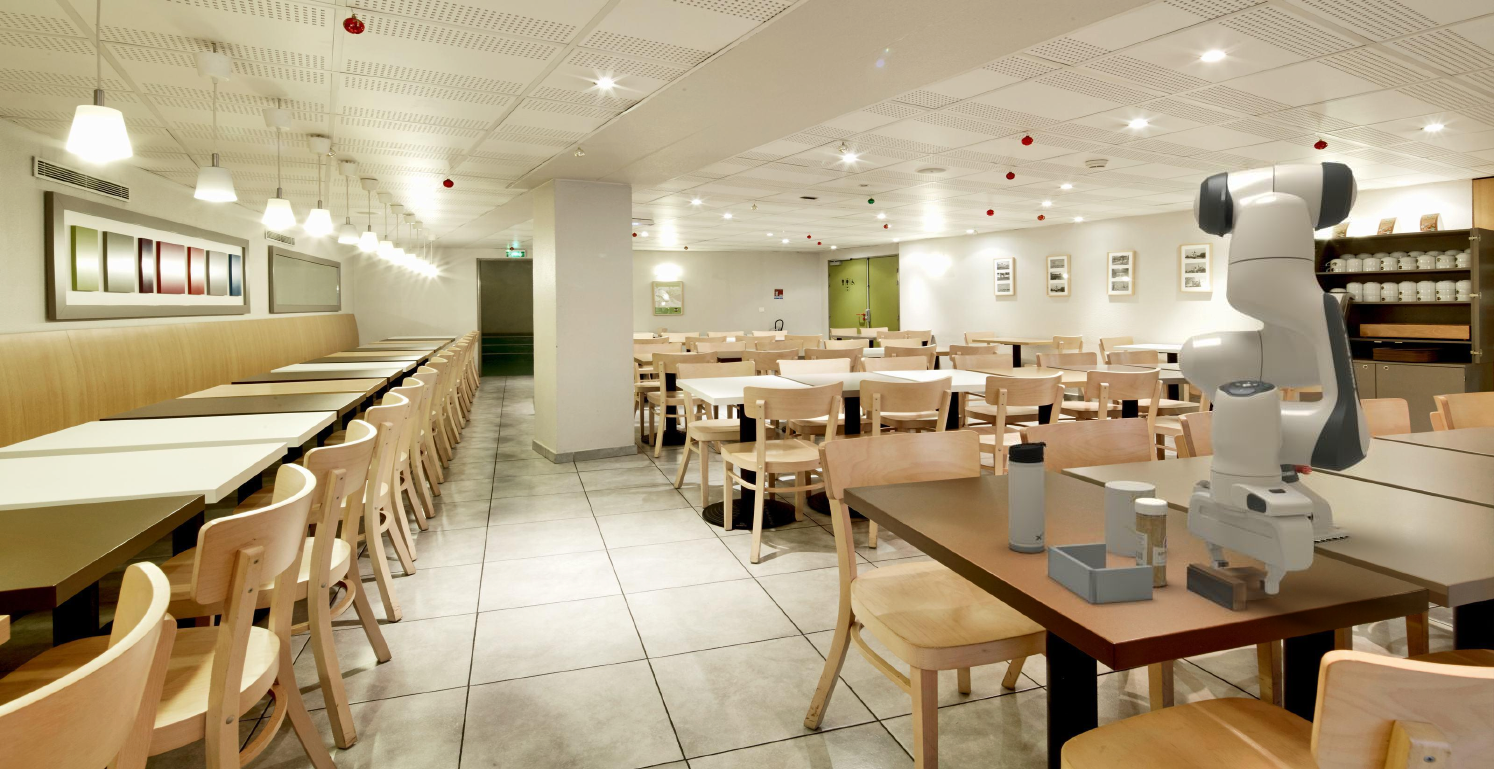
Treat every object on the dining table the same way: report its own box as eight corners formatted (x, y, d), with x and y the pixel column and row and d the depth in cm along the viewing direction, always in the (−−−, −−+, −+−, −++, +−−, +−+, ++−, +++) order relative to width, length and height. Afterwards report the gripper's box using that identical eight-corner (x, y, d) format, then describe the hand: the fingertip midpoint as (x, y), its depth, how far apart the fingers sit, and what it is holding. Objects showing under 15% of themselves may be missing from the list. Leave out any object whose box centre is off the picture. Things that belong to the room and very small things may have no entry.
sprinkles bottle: (1169, 588, 115) (1169, 504, 114) (1136, 585, 117) (1136, 502, 116) (1164, 579, 120) (1165, 497, 119) (1132, 576, 121) (1133, 496, 120)
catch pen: (1103, 571, 124) (1103, 542, 124) (1152, 598, 112) (1153, 566, 111) (1047, 575, 123) (1047, 546, 123) (1091, 603, 111) (1091, 571, 110)
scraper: (1236, 584, 116) (1236, 560, 116) (1283, 606, 107) (1284, 579, 107) (1186, 588, 115) (1186, 563, 115) (1230, 610, 106) (1230, 583, 106)
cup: (1135, 559, 129) (1136, 492, 128) (1095, 548, 137) (1095, 484, 136) (1164, 551, 133) (1165, 486, 132) (1123, 541, 140) (1123, 478, 139)
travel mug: (1049, 553, 134) (1049, 445, 133) (1011, 552, 136) (1010, 445, 134) (1043, 543, 140) (1042, 439, 139) (1006, 542, 142) (1005, 439, 140)
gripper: (1176, 478, 120) (1175, 561, 121) (1281, 507, 99) (1279, 607, 100) (1212, 476, 120) (1211, 559, 121) (1324, 504, 100) (1321, 604, 101)
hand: (1243, 581), depth 111 cm, fingers open, 8 cm apart
